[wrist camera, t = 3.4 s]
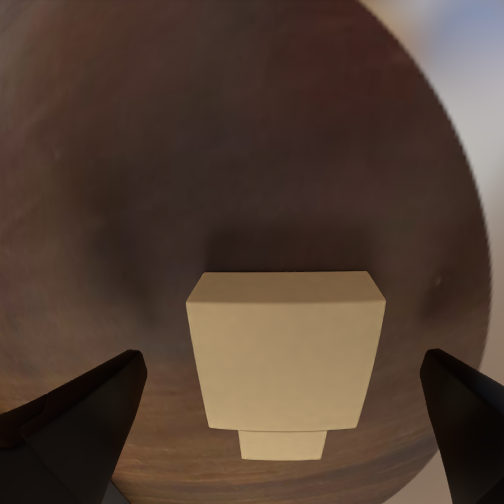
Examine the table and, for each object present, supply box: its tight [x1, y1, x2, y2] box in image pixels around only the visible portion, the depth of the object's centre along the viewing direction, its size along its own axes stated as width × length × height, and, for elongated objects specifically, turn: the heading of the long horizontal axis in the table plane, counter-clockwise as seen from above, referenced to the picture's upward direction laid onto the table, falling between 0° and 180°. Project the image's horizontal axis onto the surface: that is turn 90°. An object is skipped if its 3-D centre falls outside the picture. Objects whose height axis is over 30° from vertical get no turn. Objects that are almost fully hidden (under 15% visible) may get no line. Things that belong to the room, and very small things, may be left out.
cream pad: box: [186, 271, 386, 460], centre depth 9 cm, size 5×7×2 cm
